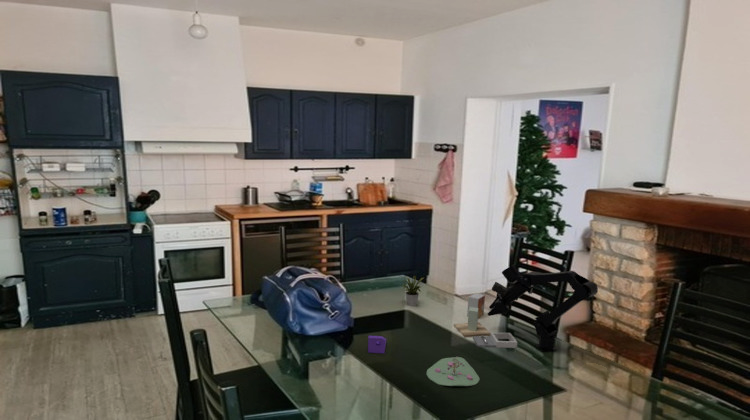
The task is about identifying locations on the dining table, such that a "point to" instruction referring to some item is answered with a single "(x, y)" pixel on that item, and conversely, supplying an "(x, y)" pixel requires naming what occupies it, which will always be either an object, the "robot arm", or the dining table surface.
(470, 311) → the block
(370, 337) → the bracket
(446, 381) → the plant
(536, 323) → the robot arm
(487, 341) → the equipment case
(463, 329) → the oak pad
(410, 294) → the house plant
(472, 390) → the dining table surface
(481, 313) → the small box
